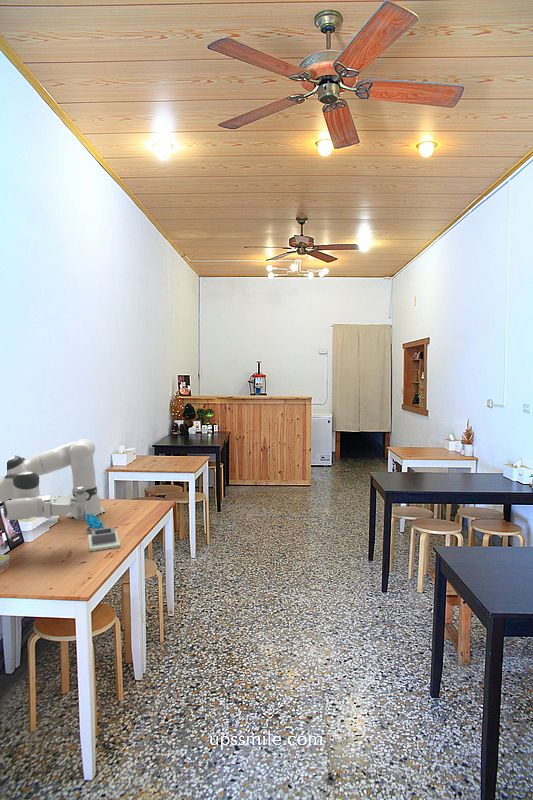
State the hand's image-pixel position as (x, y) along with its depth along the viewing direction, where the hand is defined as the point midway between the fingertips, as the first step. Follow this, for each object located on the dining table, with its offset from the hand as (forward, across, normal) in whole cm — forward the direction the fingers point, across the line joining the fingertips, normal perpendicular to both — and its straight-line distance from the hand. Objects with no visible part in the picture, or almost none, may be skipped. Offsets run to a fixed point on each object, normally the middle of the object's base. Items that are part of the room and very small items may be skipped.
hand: (82, 501), depth 211 cm
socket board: (+8, -1, -19) cm, 20 cm away
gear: (+5, -21, -19) cm, 29 cm away
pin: (-1, 0, -7) cm, 7 cm away
